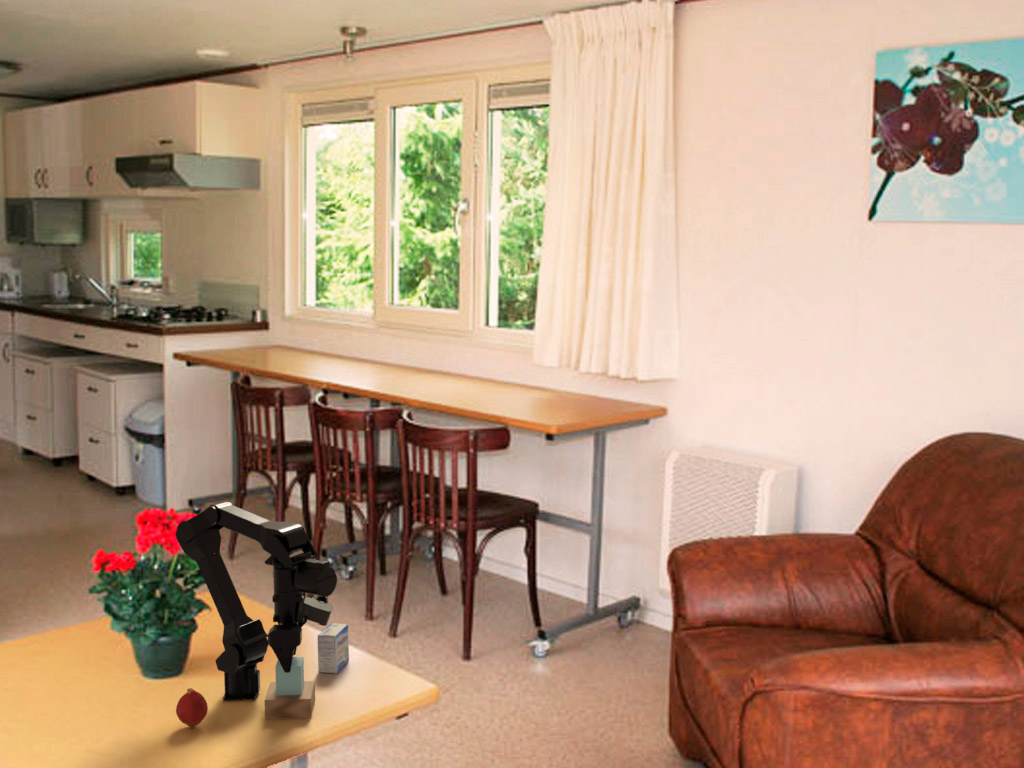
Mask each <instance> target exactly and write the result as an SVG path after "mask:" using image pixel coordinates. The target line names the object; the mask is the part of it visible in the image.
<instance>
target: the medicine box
mask: <svg viewBox="0 0 1024 768" xmlns="http://www.w3.org/2000/svg"><path fill="white" fill-rule="evenodd" d="M349 641H350V639H349V625H348V624H345V623H330V624H329V625H327V627H326V628H323V630H322V631H321V632H319V634H318V635H317V663H318V664H317V666H318V667H317V668H318V673H322V674H323V673H324V674H334V675H335V674H337V675H338V673H339V672H340V671H341V670H342V669H343V668H344V666H345V665H346V664H347V663H348V662H349V660H350V649H349V648H350V646H349V644H350V643H349ZM341 668H342V669H341Z"/></svg>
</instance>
